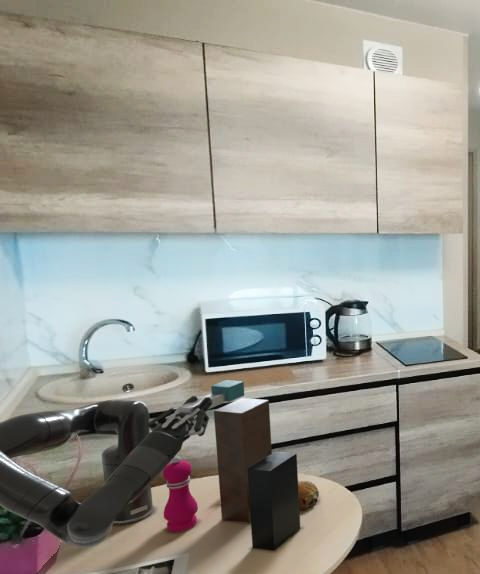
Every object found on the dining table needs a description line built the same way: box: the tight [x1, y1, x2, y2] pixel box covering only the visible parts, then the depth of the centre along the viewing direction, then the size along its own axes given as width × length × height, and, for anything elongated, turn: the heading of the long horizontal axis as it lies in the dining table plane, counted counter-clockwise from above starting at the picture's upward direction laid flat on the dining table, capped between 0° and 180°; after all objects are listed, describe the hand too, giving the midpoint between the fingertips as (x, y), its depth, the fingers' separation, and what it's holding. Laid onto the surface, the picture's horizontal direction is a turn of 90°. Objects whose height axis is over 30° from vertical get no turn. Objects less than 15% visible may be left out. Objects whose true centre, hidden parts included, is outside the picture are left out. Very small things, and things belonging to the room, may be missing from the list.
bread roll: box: [298, 480, 320, 511], centre depth 169 cm, size 10×10×8 cm
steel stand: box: [247, 451, 301, 551], centre depth 150 cm, size 6×10×22 cm, turn 175°
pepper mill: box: [162, 455, 199, 533], centre depth 153 cm, size 7×7×20 cm
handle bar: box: [177, 379, 245, 417], centre depth 147 cm, size 5×16×4 cm, turn 175°
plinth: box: [213, 397, 273, 524], centre depth 160 cm, size 8×10×32 cm
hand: (202, 398), depth 144 cm, fingers closed on handle bar, 3 cm apart
